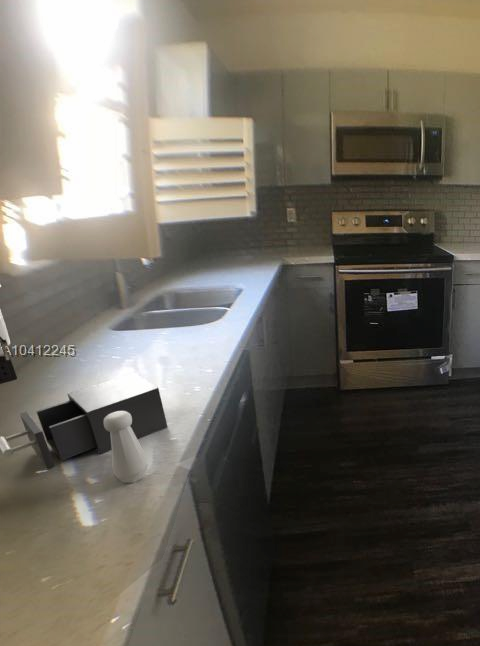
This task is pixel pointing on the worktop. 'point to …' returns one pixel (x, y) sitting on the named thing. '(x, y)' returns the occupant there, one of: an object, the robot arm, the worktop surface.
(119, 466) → the salt shaker
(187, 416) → the worktop surface
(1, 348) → the robot arm
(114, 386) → the dark grey box
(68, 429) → the drawer
